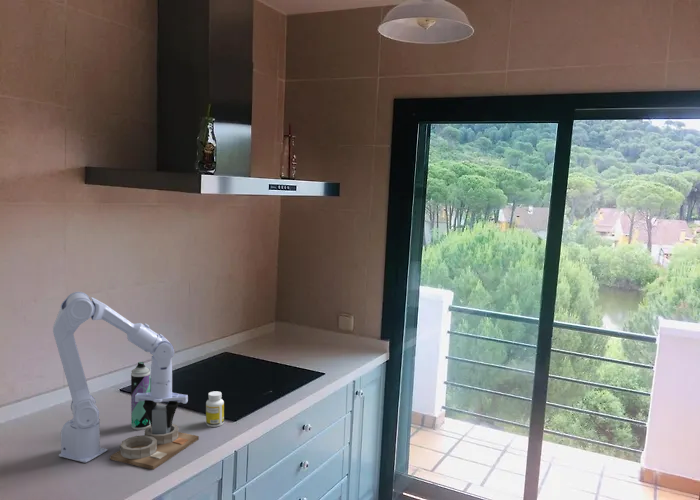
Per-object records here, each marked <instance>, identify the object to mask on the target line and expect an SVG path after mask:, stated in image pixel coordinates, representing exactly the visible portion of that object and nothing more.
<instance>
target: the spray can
mask: <svg viewBox="0 0 700 500" xmlns="http://www.w3.org/2000/svg"><path fill="white" fill-rule="evenodd" d="M130 379H131V380H130V390H131V391H130V392H131V393H130V395H131V397H130V400H131V401H130V402H131V405H130V408H131V409H130V410H131V411H130V413H131V419H130V420H131V421H130V423H131V424H130V425H131V429H133V430H135V431H143V430H144V431H145V429H146V428H147V427H149V426H151V423H150V420H149V417H148V415H147V413H146V411H145V409H144V408H143V405H144V401H139V402H135V395H136V394H137V393H149V392H151V368H148V367H147V366H146V365H145V362H143V361H139V362H137V365H136V366H135V368H134V369H132V370H131V373H130Z"/></svg>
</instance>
